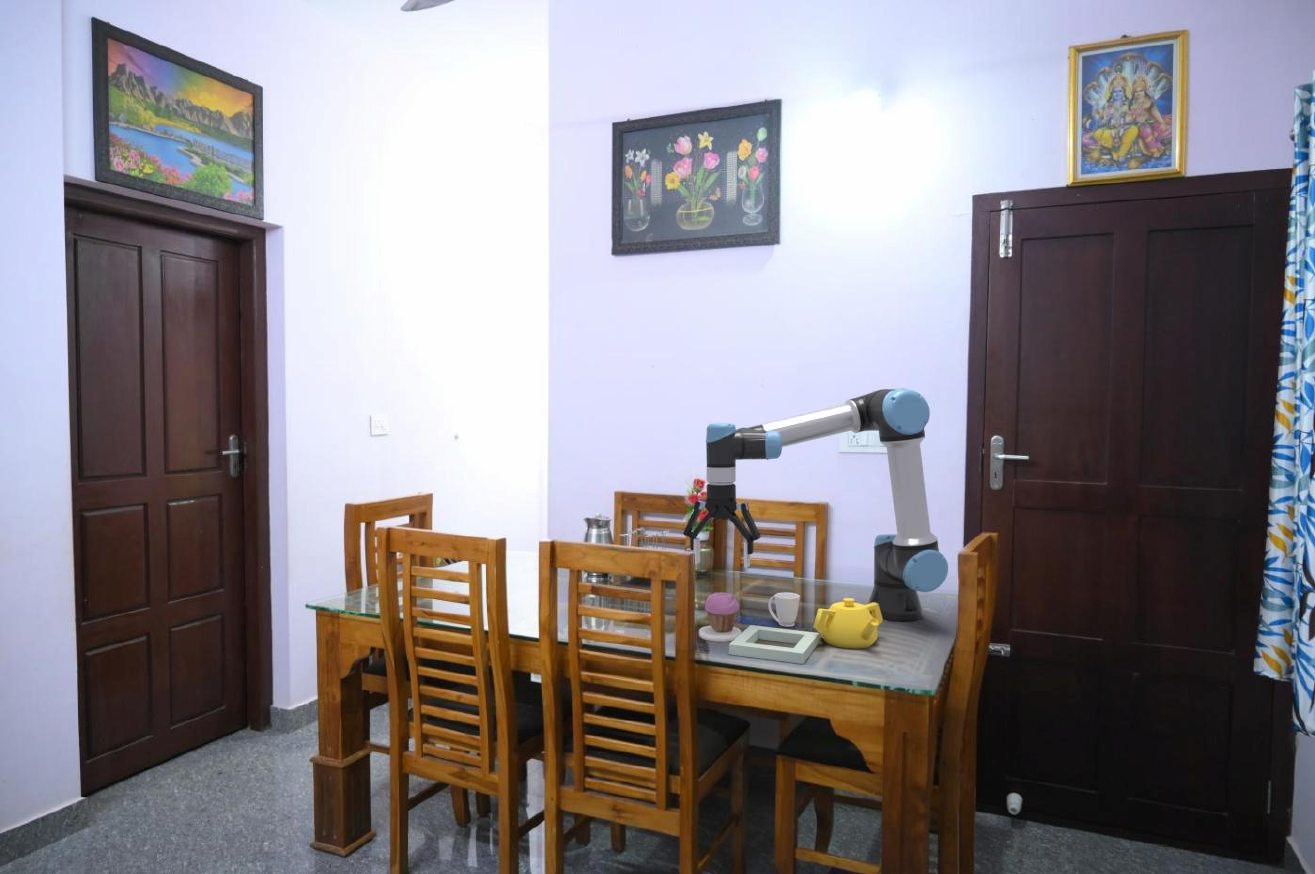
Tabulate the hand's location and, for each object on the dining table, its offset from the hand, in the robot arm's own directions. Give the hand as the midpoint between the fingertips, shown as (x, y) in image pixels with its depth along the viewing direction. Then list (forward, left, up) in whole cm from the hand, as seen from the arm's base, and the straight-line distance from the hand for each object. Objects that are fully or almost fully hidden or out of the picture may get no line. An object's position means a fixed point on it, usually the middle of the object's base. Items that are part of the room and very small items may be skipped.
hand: (721, 564), depth 212 cm
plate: (0, 0, -19) cm, 19 cm away
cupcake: (0, 0, -17) cm, 17 cm away
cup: (-12, -18, -19) cm, 28 cm away
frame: (-16, +5, -19) cm, 25 cm away
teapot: (-33, -7, -19) cm, 38 cm away
